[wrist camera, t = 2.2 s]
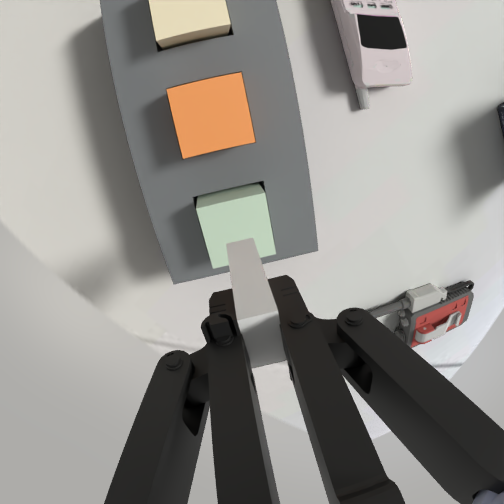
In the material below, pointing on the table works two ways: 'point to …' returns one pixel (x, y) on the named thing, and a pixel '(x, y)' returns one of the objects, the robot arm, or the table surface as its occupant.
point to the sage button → (235, 221)
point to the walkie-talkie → (430, 311)
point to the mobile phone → (373, 44)
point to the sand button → (188, 21)
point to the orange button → (211, 114)
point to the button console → (221, 161)
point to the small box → (501, 115)
